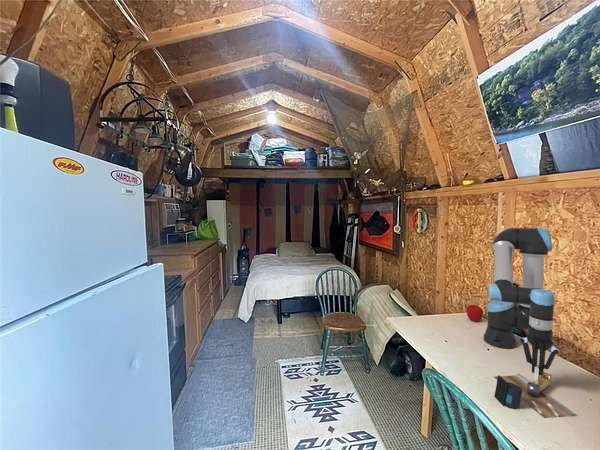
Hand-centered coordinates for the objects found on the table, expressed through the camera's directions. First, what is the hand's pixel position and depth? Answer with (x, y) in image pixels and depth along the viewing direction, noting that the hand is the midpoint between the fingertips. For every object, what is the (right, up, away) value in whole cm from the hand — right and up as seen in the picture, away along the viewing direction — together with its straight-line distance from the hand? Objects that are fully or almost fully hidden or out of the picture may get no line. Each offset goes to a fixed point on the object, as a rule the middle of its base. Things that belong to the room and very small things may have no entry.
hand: (536, 381), depth 120 cm
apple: (+17, +1, +70) cm, 72 cm away
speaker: (-19, -4, -10) cm, 22 cm away
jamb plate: (-7, -4, -5) cm, 9 cm away
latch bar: (-1, -2, -3) cm, 4 cm away
